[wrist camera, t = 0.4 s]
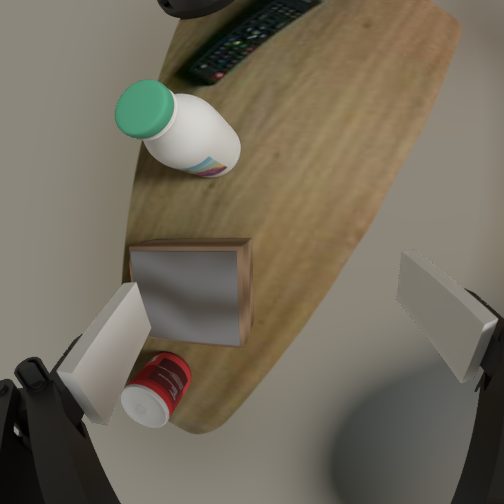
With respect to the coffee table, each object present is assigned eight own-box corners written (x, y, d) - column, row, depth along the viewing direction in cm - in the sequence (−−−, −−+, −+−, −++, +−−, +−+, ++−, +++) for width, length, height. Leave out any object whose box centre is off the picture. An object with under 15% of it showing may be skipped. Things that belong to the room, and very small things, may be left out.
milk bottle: (204, 115, 36) (129, 52, 16) (252, 138, 36) (207, 75, 16) (177, 163, 38) (83, 136, 18) (224, 188, 37) (152, 173, 18)
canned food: (151, 381, 45) (121, 416, 34) (151, 344, 43) (117, 378, 32) (191, 394, 44) (167, 435, 33) (194, 358, 42) (167, 398, 32)
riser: (154, 239, 40) (125, 247, 32) (251, 238, 38) (240, 247, 30) (162, 316, 42) (137, 337, 34) (253, 323, 40) (243, 349, 32)
